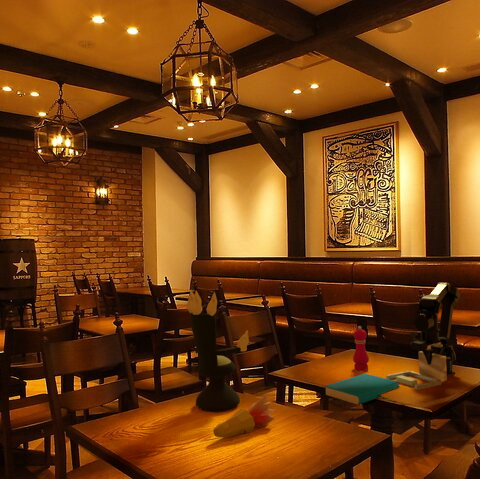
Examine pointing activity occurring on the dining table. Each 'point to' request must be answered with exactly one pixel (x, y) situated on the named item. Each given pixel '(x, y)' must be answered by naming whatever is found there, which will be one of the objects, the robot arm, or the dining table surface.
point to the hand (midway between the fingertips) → (432, 364)
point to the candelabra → (213, 357)
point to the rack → (428, 384)
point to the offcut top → (406, 380)
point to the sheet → (433, 366)
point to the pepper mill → (360, 350)
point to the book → (360, 388)
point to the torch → (245, 419)
